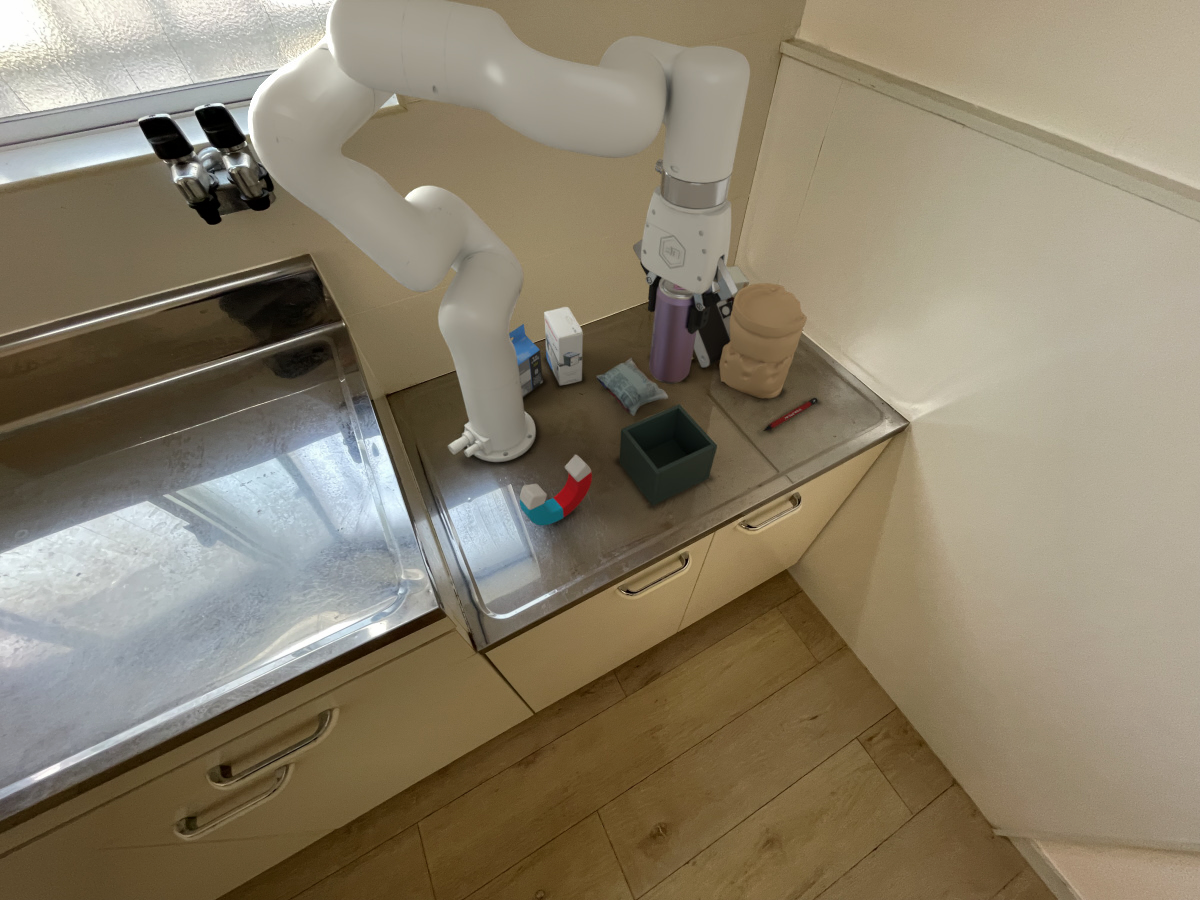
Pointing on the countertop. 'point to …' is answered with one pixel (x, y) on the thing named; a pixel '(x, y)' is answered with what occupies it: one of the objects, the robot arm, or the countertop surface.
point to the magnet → (563, 501)
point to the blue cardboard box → (527, 360)
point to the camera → (714, 333)
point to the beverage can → (671, 333)
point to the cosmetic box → (738, 278)
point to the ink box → (564, 345)
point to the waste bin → (666, 453)
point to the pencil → (791, 414)
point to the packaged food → (630, 386)
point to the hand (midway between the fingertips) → (676, 316)
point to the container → (761, 339)
